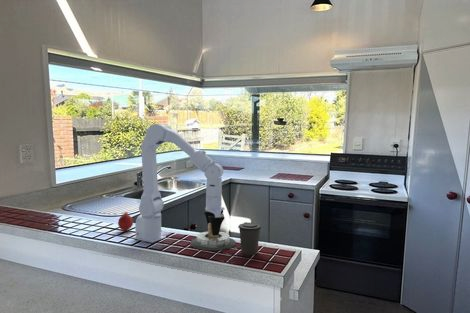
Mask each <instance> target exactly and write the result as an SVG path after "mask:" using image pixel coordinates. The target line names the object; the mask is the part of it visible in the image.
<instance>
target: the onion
mask: <svg viewBox="0 0 470 313" xmlns="http://www.w3.org/2000/svg"><path fill="white" fill-rule="evenodd" d="M133 224H134V220H133V218H132V217H131V215H129V214H128V211H127V212H126V211H125V212H124V214H123V215H121V216H120V217H119V219H118V220H117V225H118V228H119V229H121V231H123V232H127V231H129V230H130V229H131V228H132V227H133Z"/></svg>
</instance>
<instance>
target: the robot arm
mask: <svg viewBox="0 0 470 313" xmlns="http://www.w3.org/2000/svg"><path fill="white" fill-rule="evenodd" d="M164 143H172V144H174V145H175V146H177V147H178V148H179V149H180V150H182V152H184V153H185V154H186V155H188V156H189V161H190V162H191V163H192V165H195V167H196V168H198V169H199V170H200V171H201V172H202V173H204V176H205V178H206V184H205V186H206V187H205V188H206V189H205V209H204V210H203V215H204V217H205V219H206V224H207V227H208V223H211V229H212V235H213V236H216V235H219V232H221V227H222V225H223V222H224V221H225V216H223V215H222V211H224V210H225V207H224V206H222V199H223V198H222V197H223V196H222V194H223V193H222V192H223V191H222V189H223V188H222V187H223V182H222V181H223V180H222V179H223V178H222V176H223V175H224V168H223V166H222V165H221V164H220V163H218V162H217V161H216V159H212V158H211V157H210V156H209V155H208V154H207V151H206V150H202V149H196V148H194V147H193V146H192V145H191V144H190V142H188V141H187V140H186V139H185V138H184V137H183V136H181V134H179V132H178V131H176V130H175V129H173V128H172V127H171V126H169V125H168V124H159V123H154V124H151V125H150V126H149V127H148V128H147V129H146V130H145V135H144V138H143V140H142V142H141V164H142V165H141V166H142V169H141V170H142V179H143V180H142V183H143V186H142V187H143V192H142V194H141V197H140V203H139V206H138V211H139V213H140V215H138V216H137V218H136V219H135V233H134V234H135V236H134V237H133V240H138V241H143V242H148V243H155V242H158V241H160V240H162V239H166V238H167V236H166V235H162V213H161V212H162V211H163V208H164V206H165V203H164V200H163V198H162V194H161V192H160V191H159V183H158V180H159V179H158V167H157V163H158V162H157V149H158V148H159V147H160V146H161V145H162V144H164Z"/></svg>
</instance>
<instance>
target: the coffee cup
mask: <svg viewBox="0 0 470 313" xmlns="http://www.w3.org/2000/svg"><path fill="white" fill-rule="evenodd" d="M237 228H238V229H239V239H240V249H241V254H243V255H245V256H255V255H257V254H258V250H259V249H258V248H259V243H260V242H259V241H260V233H261V229H262V226H261V224H258V223H255V222H248V221H245V222H243V223H240V224H239V225H238V226H237Z"/></svg>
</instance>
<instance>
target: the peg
mask: <svg viewBox="0 0 470 313" xmlns="http://www.w3.org/2000/svg"><path fill="white" fill-rule="evenodd" d="M207 232H208V238H219V235H216V236H213V235H212V229H211V223H208V226H207Z"/></svg>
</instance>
